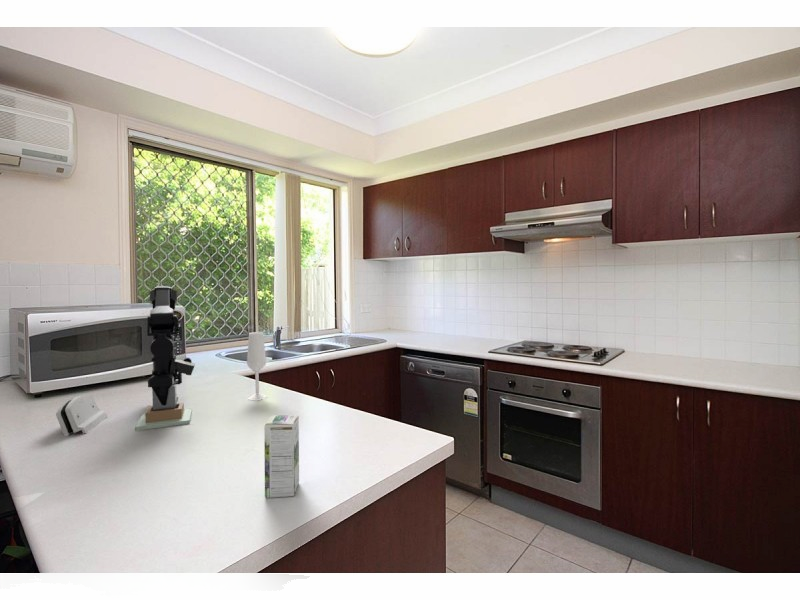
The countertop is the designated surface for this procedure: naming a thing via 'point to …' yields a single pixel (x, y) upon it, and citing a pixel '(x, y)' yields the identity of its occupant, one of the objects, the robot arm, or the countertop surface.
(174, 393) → the brushed grey metal block
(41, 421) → the countertop surface
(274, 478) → the syrup box
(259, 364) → the champagne flute
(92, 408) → the hinge
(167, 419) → the post socket
